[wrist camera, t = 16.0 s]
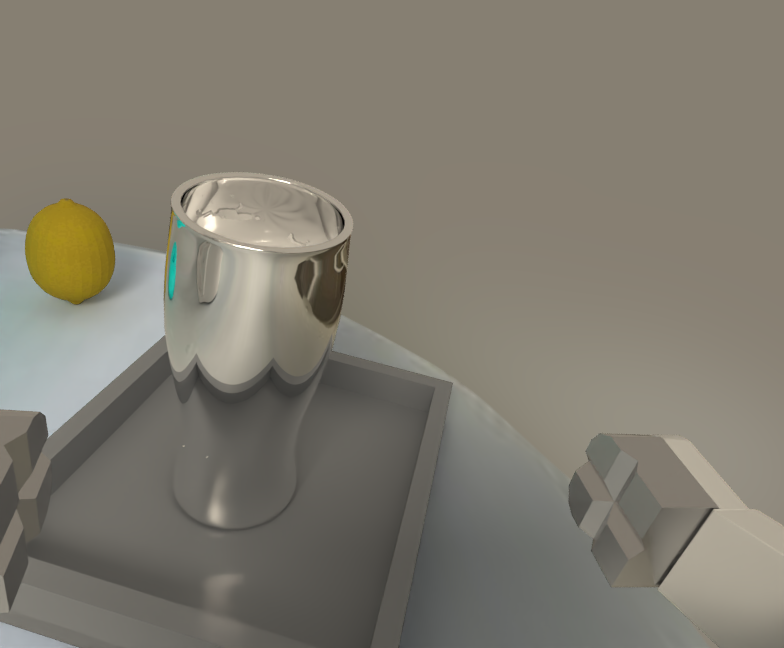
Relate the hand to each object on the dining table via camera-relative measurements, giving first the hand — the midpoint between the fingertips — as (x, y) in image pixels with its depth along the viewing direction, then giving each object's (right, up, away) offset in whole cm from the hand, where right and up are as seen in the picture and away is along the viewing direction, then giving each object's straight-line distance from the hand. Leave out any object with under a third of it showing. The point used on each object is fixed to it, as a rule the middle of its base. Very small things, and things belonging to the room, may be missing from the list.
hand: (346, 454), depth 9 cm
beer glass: (-7, -6, +21) cm, 23 cm away
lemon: (-23, +3, +35) cm, 41 cm away
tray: (-7, -7, +22) cm, 24 cm away
